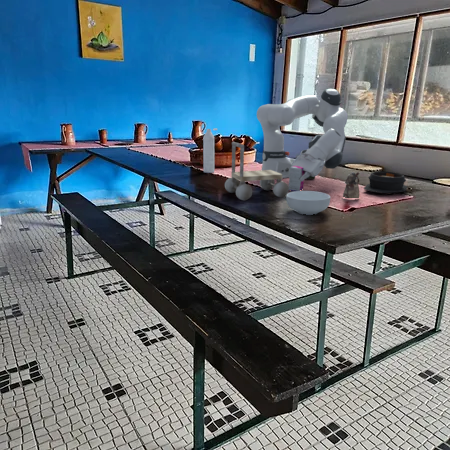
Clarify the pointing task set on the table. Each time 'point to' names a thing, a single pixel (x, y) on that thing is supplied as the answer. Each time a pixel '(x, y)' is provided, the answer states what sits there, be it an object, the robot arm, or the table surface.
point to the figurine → (352, 186)
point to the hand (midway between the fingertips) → (295, 178)
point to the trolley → (253, 178)
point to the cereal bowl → (308, 201)
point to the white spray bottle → (208, 151)
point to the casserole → (386, 182)
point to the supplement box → (296, 178)
